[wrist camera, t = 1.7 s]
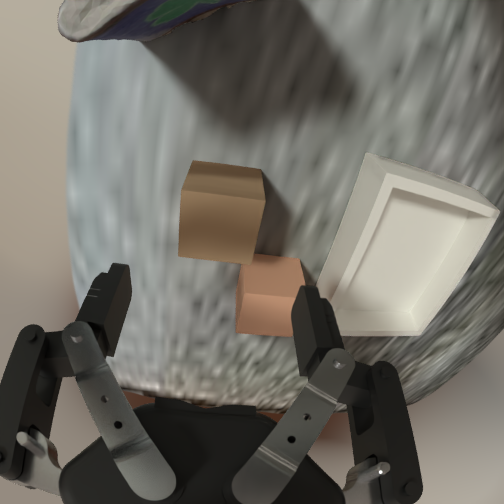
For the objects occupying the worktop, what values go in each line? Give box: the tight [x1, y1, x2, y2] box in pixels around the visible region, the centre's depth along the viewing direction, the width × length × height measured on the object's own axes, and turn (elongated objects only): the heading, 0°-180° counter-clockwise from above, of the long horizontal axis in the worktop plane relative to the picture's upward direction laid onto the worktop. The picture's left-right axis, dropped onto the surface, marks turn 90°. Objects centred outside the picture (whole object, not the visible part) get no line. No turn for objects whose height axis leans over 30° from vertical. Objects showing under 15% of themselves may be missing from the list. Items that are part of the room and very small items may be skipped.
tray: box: [315, 152, 500, 336], centre depth 23 cm, size 15×12×4 cm
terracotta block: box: [236, 254, 305, 337], centre depth 24 cm, size 4×4×4 cm
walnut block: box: [178, 160, 266, 265], centre depth 19 cm, size 4×4×4 cm
